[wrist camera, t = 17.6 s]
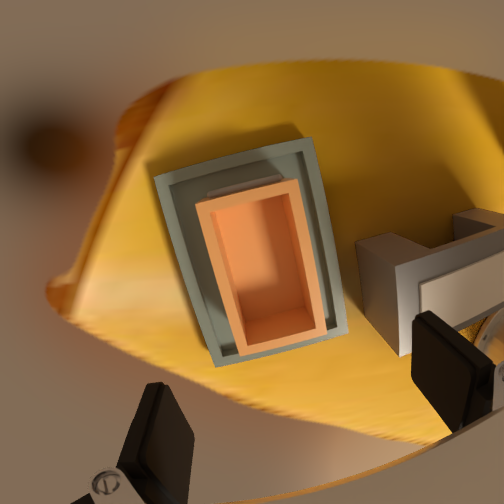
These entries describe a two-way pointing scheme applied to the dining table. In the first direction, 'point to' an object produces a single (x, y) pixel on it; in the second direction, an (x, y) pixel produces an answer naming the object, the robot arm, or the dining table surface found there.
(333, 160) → the dining table surface
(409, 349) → the bay housing
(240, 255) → the orange drawer
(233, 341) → the tray
